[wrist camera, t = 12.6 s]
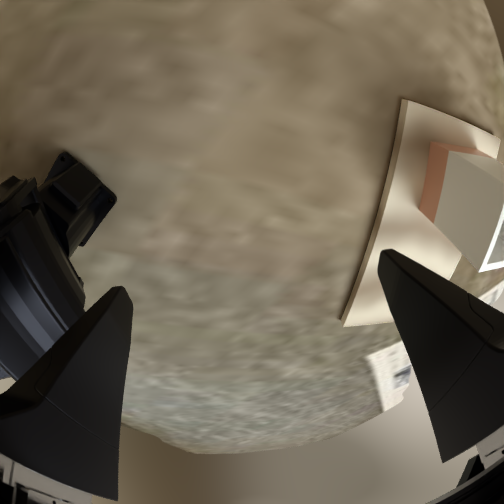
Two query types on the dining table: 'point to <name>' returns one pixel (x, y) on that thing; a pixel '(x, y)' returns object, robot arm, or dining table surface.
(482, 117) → the dining table surface
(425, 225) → the pin board
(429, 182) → the sleeve
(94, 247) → the dining table surface
